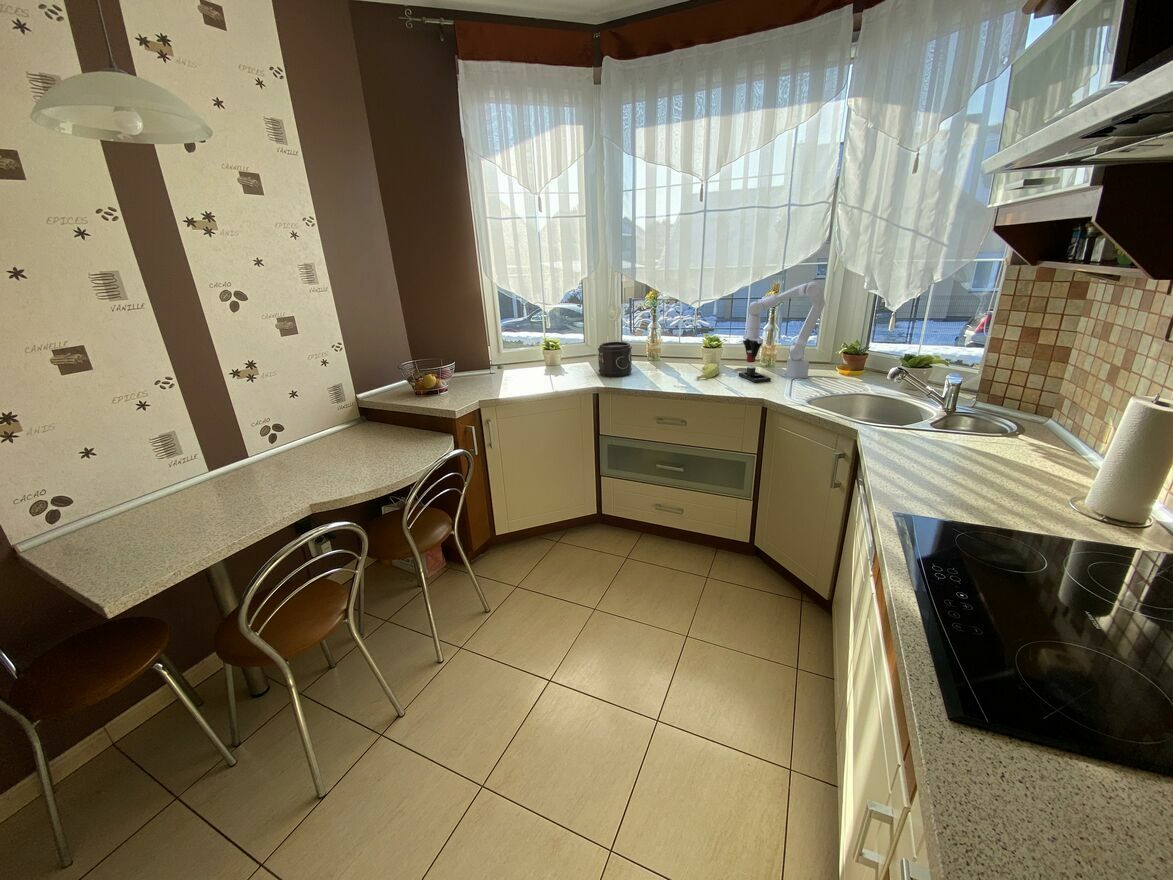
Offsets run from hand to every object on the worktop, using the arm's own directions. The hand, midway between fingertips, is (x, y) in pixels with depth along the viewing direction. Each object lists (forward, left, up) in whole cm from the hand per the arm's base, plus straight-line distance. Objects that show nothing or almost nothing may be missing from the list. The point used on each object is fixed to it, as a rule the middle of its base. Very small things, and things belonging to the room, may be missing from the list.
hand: (751, 355), depth 234 cm
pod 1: (0, 0, -3) cm, 3 cm away
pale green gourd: (+20, -8, -10) cm, 24 cm away
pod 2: (+2, +5, -9) cm, 11 cm away
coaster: (-2, -10, -10) cm, 15 cm away
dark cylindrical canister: (+61, -30, -10) cm, 69 cm away
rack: (+2, +8, -10) cm, 13 cm away
